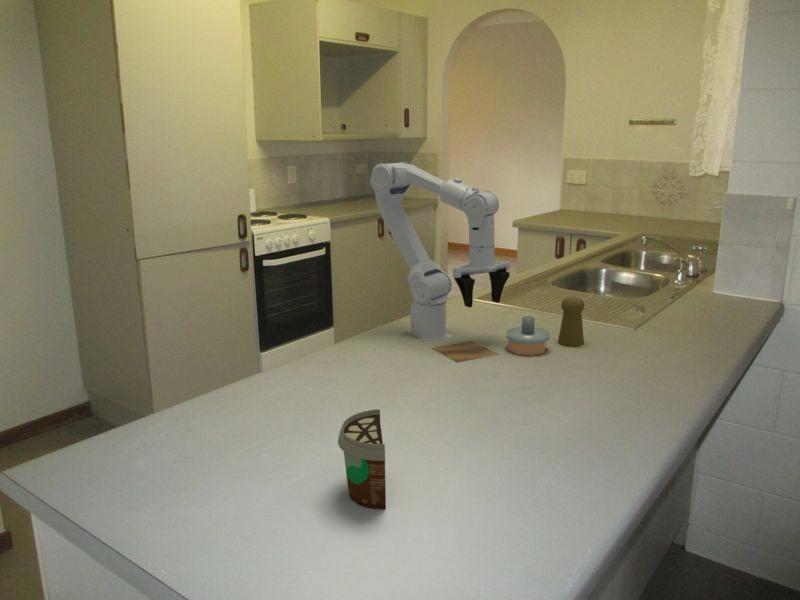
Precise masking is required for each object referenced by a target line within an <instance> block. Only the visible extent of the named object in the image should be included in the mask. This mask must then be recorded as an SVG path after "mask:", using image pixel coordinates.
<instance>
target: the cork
mask: <svg viewBox="0 0 800 600" xmlns="http://www.w3.org/2000/svg"><path fill="white" fill-rule="evenodd" d="M560 307H561V309H562V312H563V313H562V318H561V322H560V323H561V324H560V329H559V334H558V339H557V343H558V344H559V345H561V346H564V347H568V348H569V347H570V348H571V347H572V348H578V347H579V348H580V347H581V346H584V345H585V339H584V338H585V336H584V329H583V328H584V327H583V315H582V313H583V310H584V309H585V302H584V299H582V298H580V297H576V296H568V297H567V296H566V297H564V298H563V299H562V301H561V305H560Z"/></svg>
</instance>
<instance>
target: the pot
mask: <svg viewBox="0 0 800 600" xmlns="http://www.w3.org/2000/svg"><path fill="white" fill-rule="evenodd" d="M507 348H508V349H507V350H508V352H511V353H514V354H515V355H520V356H531V357H532V356H533V357H534V356H537V355H543V354H545V351H546V349H547V341H546V342H543V343H537V344H525V343H518V342H514V341H511V340H509V339H508V347H507Z"/></svg>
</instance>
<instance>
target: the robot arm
mask: <svg viewBox="0 0 800 600" xmlns="http://www.w3.org/2000/svg"><path fill="white" fill-rule="evenodd" d="M369 179H370V180H369V183H370V185H371V187H372V189H373V191H374V195H375V202H376V207H377V210H378V211H379V214H380V216H381V217H382V220H383V221H384V223H385V225H386V226H387V229H388V231H389V233H390V234H391V236H392V238H393V240H394V242H395V244H396V245H397V247H398V249H399V251H400V253H401V255H402V257H403V258H404V261H405V263H406V265H407V266H408V268H409V273H408V275H407V278H406V280H407V282H408V284H409V288H410V294H411V296H412V298H413V299H414V300H413V302H412V303H411V305H410V310H409V311H410V312H409V313H410V329H409V330H407V332H408V333H410V334H411V335H413V336H415V337H416V338H417V337H418V339H421V340H423V341H425V342H429V341H434V340H440V339H444V338H450V337H454V335H453V334H451V333H449V332H447V299H448V295H449V294H450V292H451V290H452V287H453V282H452V279H451V277H450V276H449V274H447V273H446V272H445V271H444V270H443V269H442V267H441V266H440V264H438V263H436V262H435V261H434V260H431V258H430V256H429V254H428V253H427V250H426V249H425V247H424V245H423V243H422V241H421V240H420V237H419V236H418V234H417V232H416V231H415V228H414V226H413V225H412V222H411V221H410V220H409V217H408V215H407V213H406V211H405V209H404V208H403V206H402V203H403V199H404V197H405V196H406V193H407V192H408V191H409V189H410V187H411V185H412V186H416V187H418V188H421V189H423V190H426V191H428V192H431V193H434V194H436V195H438V196H439V198H440V201H441V202H442V203H444V204H446V205H448V206H450V207H452V208H455V209H457V210H458V211H459V210H460V211H461V212H463V213H464V214H465V215H466V217H467V221H468V222H467V224H468V249H469V250H468V254H469V255H468V257H469V259H468V263H469V264H466V265H462V266H458V267H452V277H454V278H453V279H454V282H455V283H456V285H457V287H458V288H459V290H460V293H461V296H462V300H463V304H464V307H467V308H472V307H473V305H474V304H473V301H474V299H473V297H474V296H473V294H474V286H475V282H476V279H475V278H472V276H473V275H475V276H476V275H481V274H487V273H488V275H489V280H490V286H491V287H490V289H491V290H490V291H491V292H490V293H491V302H493V303H496V304H497V303H500V301H501V298H502V294H503V291H504V287H505V285H506V284H507V282H508V279H509V278H510V271H511V261H508V260H501V261H495V214H497V212H498V210H499V208H500V207H499V206H500V202H499V199H498V197H497V196H496V195H495V193H493V192H492V191H490V190H483V191H481V192H480V190H479V189H480V188H479V187H477V186H470V185H468V184H465V183H463V182H462V181H463V180H462V178H457V177H456V178H450V179H447V180H443V179H441V178H439V177H437V176H435V175H434V174H431V173H429V172H428V171H425V170H423V169H421V168H419V167H418V166H416V165H415V164H410V163H408V162H405V161H400V162H394V163H392V162H391V163H378V164H376V165H375V166H374V167H373V169H372V171H371V175H370V178H369Z"/></svg>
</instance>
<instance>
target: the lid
mask: <svg viewBox="0 0 800 600" xmlns="http://www.w3.org/2000/svg"><path fill="white" fill-rule="evenodd" d="M535 322H536V319H535V317H534V316H529V315H528V316H526V315H525V316H522V317H521V326H518V327H517V326H516V327H512V328H509V329H507V330H506V332H505V334H506V339H507V340H508V341H509V340H511V341H514V342H518V343H525V344H537V343H543V342H546V343H547V342H549V340H550V332H549V331H548V330H547V329H543V328H541V327H535Z"/></svg>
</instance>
